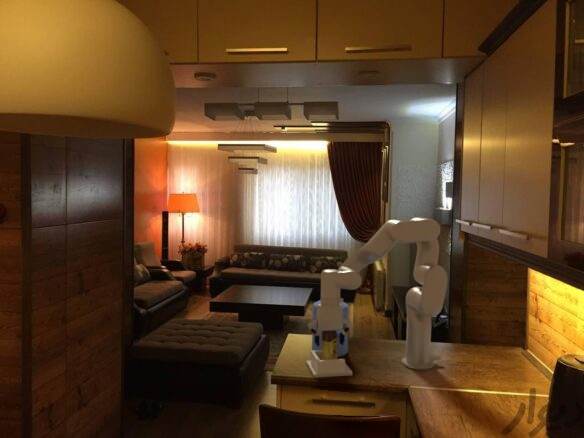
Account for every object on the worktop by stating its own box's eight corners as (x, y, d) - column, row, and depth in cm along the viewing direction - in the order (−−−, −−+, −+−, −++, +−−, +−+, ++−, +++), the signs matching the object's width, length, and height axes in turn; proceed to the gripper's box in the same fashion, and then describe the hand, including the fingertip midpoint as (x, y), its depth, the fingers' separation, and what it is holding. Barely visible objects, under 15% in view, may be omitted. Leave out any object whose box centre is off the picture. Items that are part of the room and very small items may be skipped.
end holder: (341, 361, 188) (342, 348, 188) (352, 375, 175) (352, 360, 174) (306, 363, 186) (306, 349, 185) (314, 377, 172) (314, 362, 171)
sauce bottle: (336, 370, 176) (337, 319, 175) (320, 368, 177) (321, 318, 176) (338, 363, 183) (339, 314, 181) (322, 362, 184) (323, 313, 183)
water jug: (307, 355, 194) (308, 290, 193) (316, 344, 209) (317, 283, 208) (343, 360, 190) (345, 293, 188) (350, 348, 205) (351, 286, 203)
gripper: (348, 298, 184) (347, 340, 185) (306, 299, 180) (305, 342, 182) (354, 303, 176) (353, 346, 177) (310, 304, 173) (310, 348, 174)
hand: (329, 344), depth 179 cm, fingers open, 9 cm apart
